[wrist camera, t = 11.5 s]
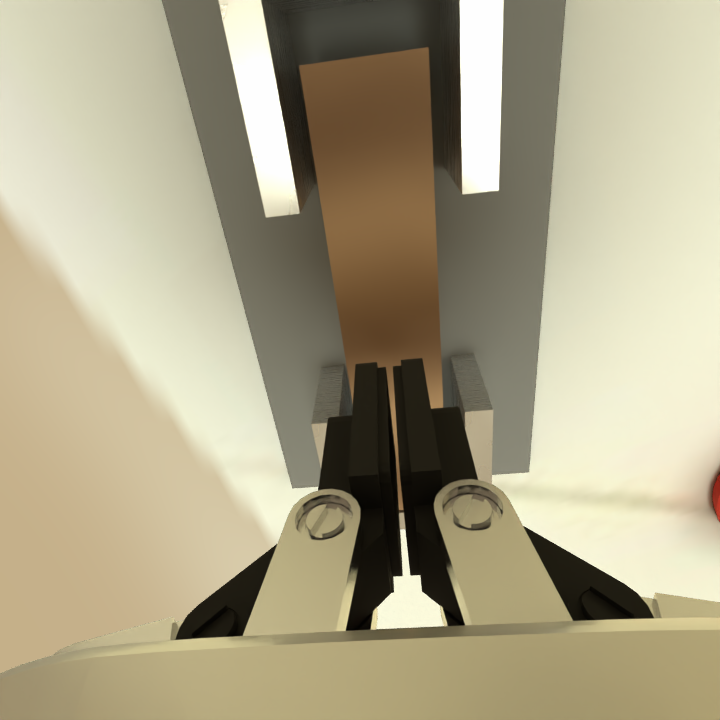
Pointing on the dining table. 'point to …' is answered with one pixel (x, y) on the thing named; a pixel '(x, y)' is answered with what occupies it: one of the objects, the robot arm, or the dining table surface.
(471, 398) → the endcap
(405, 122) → the slat
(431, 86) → the mat
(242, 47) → the endcap
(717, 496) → the canned food
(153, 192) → the dining table surface
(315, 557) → the robot arm
